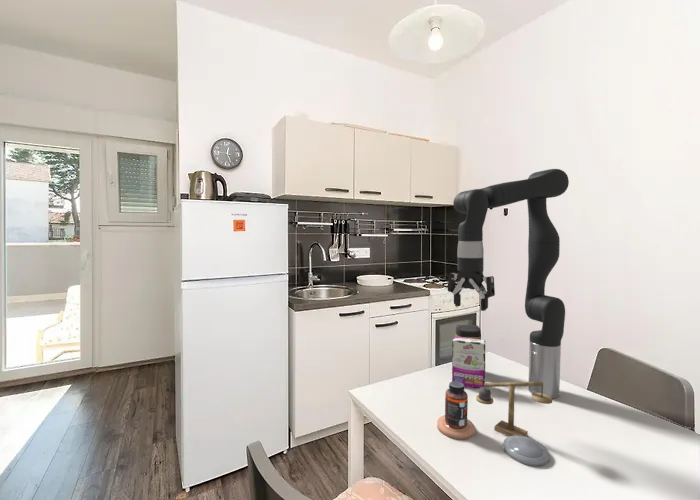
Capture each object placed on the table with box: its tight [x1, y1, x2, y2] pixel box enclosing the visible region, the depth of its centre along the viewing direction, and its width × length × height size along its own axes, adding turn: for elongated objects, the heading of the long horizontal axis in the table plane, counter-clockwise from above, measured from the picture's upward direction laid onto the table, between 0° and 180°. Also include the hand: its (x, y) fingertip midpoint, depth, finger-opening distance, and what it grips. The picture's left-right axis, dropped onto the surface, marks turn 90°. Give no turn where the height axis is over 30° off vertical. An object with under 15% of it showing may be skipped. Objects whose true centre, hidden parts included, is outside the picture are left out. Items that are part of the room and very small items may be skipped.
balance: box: [475, 381, 554, 437], centre depth 91 cm, size 5×20×17 cm, turn 41°
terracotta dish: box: [436, 414, 476, 440], centre depth 94 cm, size 10×10×1 cm
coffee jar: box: [454, 324, 482, 340], centre depth 132 cm, size 10×8×19 cm
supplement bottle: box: [444, 380, 469, 429], centre depth 93 cm, size 6×6×11 cm
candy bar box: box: [451, 336, 486, 390], centre depth 121 cm, size 11×5×16 cm, turn 68°
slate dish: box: [503, 436, 550, 467], centre depth 83 cm, size 10×10×1 cm
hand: (470, 308), depth 104 cm, fingers open, 8 cm apart
